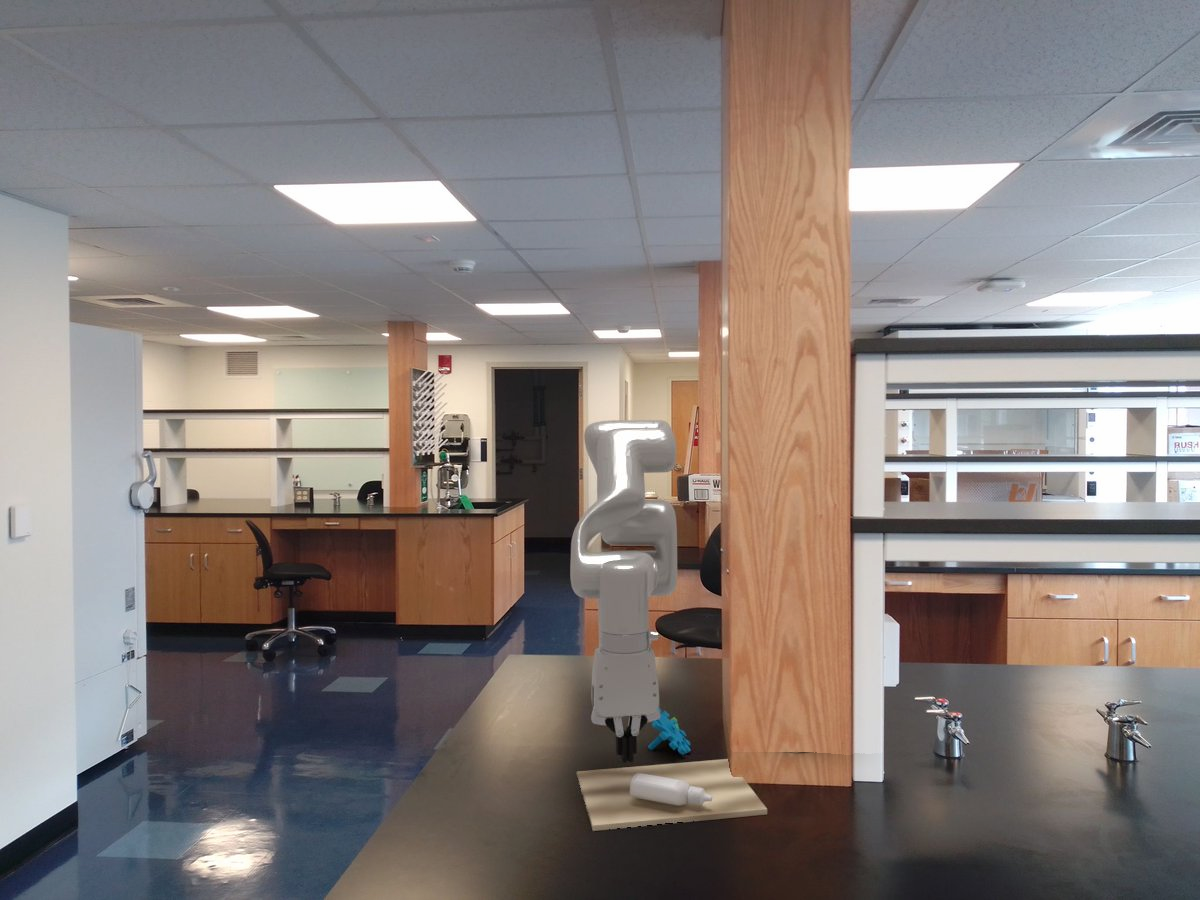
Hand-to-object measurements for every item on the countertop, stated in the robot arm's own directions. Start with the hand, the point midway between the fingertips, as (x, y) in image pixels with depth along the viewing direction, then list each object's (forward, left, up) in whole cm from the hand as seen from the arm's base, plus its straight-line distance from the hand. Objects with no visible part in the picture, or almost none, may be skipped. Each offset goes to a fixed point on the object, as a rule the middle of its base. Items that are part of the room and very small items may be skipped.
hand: (626, 758), depth 121 cm
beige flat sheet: (0, +6, -6) cm, 9 cm away
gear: (-17, +11, -6) cm, 21 cm away
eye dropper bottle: (+1, +1, -4) cm, 4 cm away
